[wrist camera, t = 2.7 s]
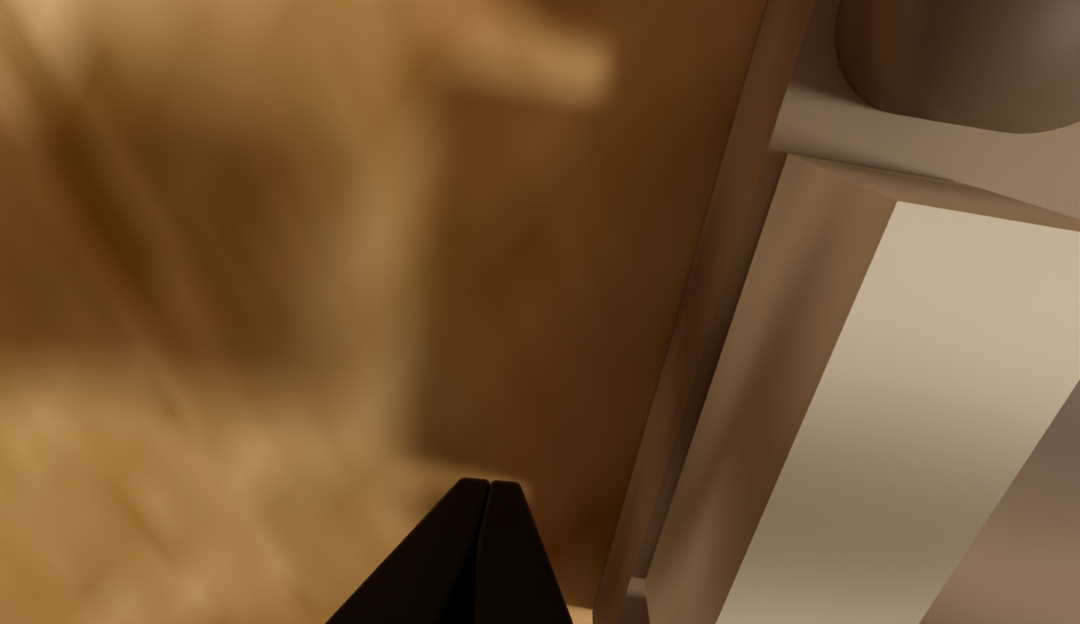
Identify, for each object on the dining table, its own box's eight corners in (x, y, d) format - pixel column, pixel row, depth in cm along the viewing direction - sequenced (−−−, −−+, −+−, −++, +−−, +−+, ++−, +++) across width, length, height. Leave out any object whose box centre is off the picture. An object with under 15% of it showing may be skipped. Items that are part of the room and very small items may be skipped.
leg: (767, 602, 11) (826, 764, 9) (644, 583, 11) (665, 740, 8) (967, 183, 8) (1166, 246, 5) (787, 153, 8) (897, 200, 5)
